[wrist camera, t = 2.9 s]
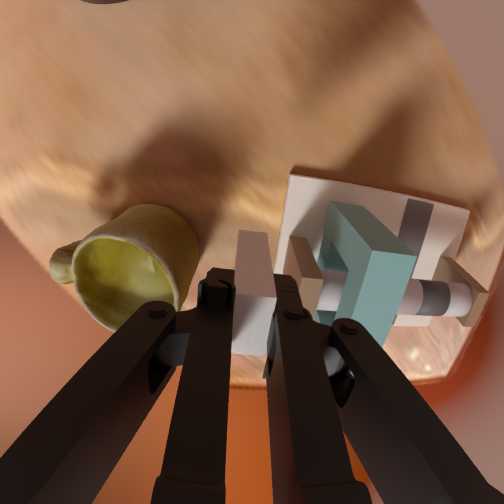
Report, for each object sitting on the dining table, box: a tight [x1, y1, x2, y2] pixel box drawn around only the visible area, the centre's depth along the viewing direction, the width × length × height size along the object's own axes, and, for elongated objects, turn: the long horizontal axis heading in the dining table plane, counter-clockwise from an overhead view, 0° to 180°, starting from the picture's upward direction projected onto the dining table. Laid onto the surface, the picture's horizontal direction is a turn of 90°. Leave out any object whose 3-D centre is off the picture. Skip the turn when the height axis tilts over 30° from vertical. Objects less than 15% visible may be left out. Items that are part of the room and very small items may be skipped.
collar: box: [313, 201, 417, 377], centre depth 24 cm, size 3×11×10 cm, turn 173°
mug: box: [49, 204, 199, 333], centre depth 25 cm, size 12×10×10 cm
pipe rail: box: [273, 173, 490, 327], centre depth 26 cm, size 19×14×8 cm
